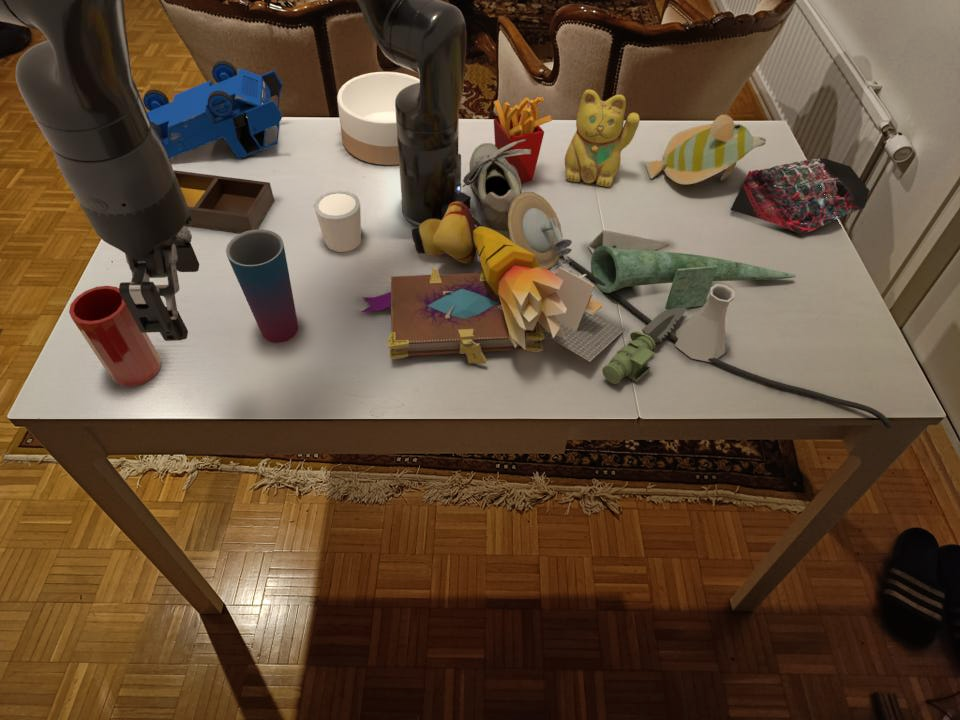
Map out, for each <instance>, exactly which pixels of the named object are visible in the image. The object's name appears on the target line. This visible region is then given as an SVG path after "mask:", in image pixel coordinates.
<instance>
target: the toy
mask: <svg viewBox="0 0 960 720" xmlns="http://www.w3.org/2000/svg"><path fill="white" fill-rule="evenodd" d="M473 217H474V216H473V214H472V212H471V210H470V209H469V208H468V207H467V206H466V205H465V204H464V203H462V202H459V201H456V202H452V203H451V204H450V205H449V206H448V209H447V212H446V213H445V215H444V217H443V219H442V220H438V219H428V220H426V221H424V222H423V223H422V224H420V225H419V226H416V227H414V228H411V236H412V241H413V244H414V249H415V251H416V253H418V254H425V255H428V256H440V255H443V254H445V253H446V254H447V255H449V256H450V257H452V258H453V259H454V260H456V261H458V262H460V263H462V264H469V263H470V262H473V260H474V259H475V258H476V254H477V249H476V247H475V244H474V240H473V231H474V230H475V229H476V228H477V226H476V225H475V222H474V219H473Z"/></svg>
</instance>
